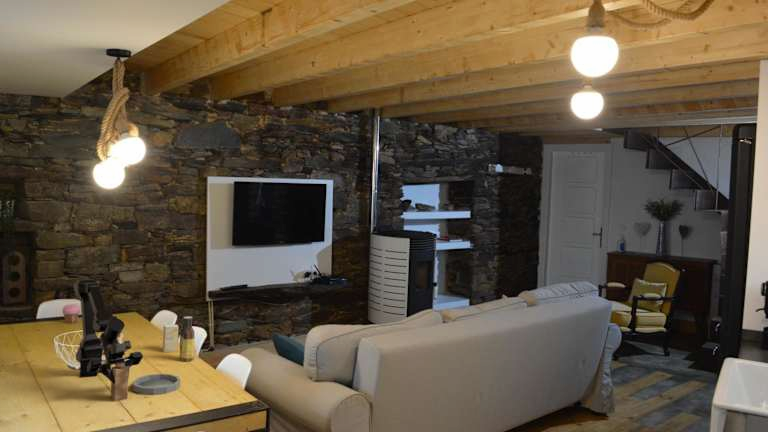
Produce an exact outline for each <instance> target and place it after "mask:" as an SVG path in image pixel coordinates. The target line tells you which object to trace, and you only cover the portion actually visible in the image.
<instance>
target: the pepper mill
mask: <svg viewBox="0 0 768 432" xmlns="http://www.w3.org/2000/svg"><path fill="white" fill-rule="evenodd" d="M111 370H112V373H113V376H114V379H115V384H113V383H112V382H111V381H110V399H111V400H113V402H118V401H119V402H120V401H123V400H124V401H125V400H128V395H129V394H128V387H129V386H128V385H129V378H128V368H127V367H126V366H125V363H116V364H114V366H111Z"/></svg>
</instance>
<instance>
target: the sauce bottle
mask: <svg viewBox="0 0 768 432" xmlns="http://www.w3.org/2000/svg"><path fill="white" fill-rule="evenodd" d="M182 321H183V325H182V328H181V331H180V333H179V360H180V361H181V362H191V361H193V360H194V358H195V357H194V356H195V330H194V328H193V316H192V315H191V316H190V315H189V316H187V315H185V316H183V317H182Z"/></svg>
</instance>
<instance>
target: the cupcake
mask: <svg viewBox="0 0 768 432" xmlns="http://www.w3.org/2000/svg"><path fill="white" fill-rule="evenodd" d="M61 313H62V314H63V316H64V319H65V323H69V324H73V323H76V322H78V320H79V314H80V313H81V307H80V306H78V305H77V304H66V305H64V306H63V308H62V311H61Z"/></svg>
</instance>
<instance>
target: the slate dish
mask: <svg viewBox="0 0 768 432" xmlns="http://www.w3.org/2000/svg"><path fill="white" fill-rule="evenodd" d="M180 387H181V379H180V376H178V375H175V374H172V373H154V374H153V373H151V374H146V375H143V376H140V377H137V378H135V380H133V381H132V388H133V392H135V393H137V394H139V395H147V396H155V395H164V394H168V393H173V392H176V391H177V390H178V389H180Z"/></svg>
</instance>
